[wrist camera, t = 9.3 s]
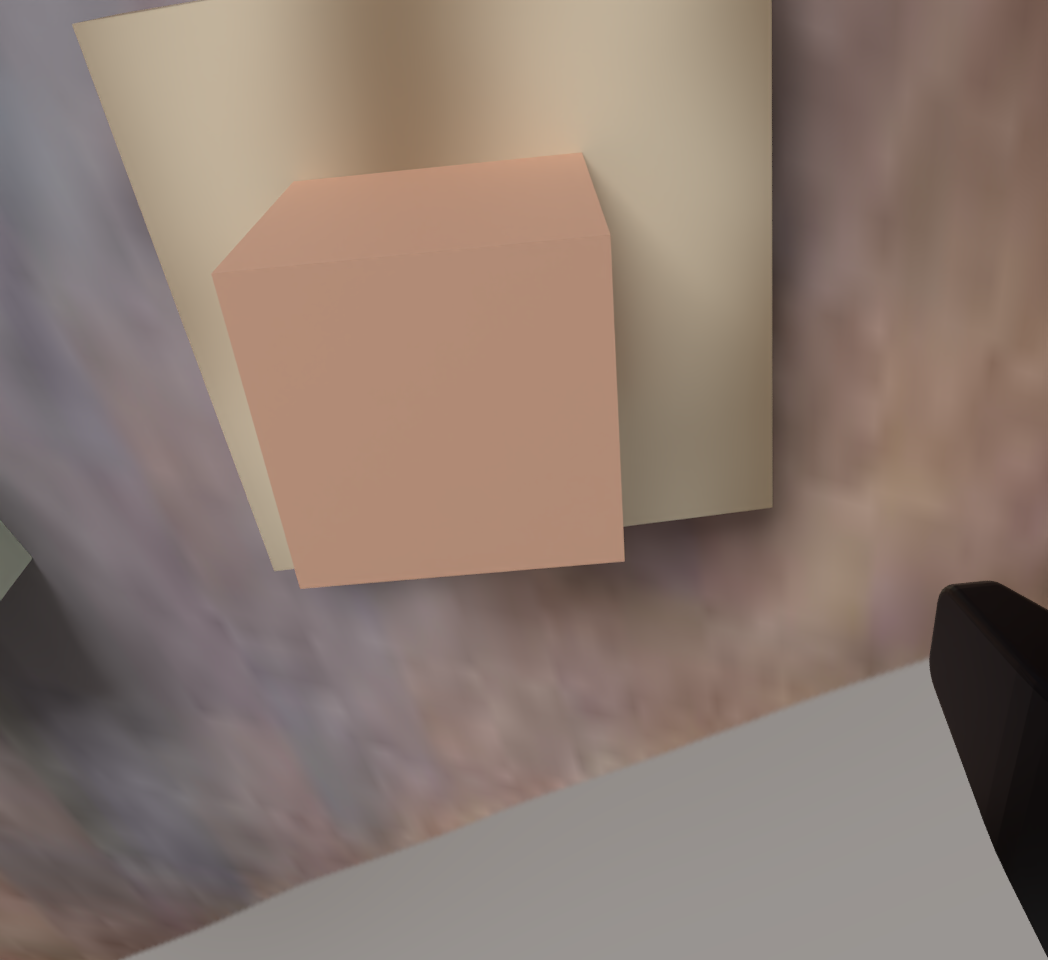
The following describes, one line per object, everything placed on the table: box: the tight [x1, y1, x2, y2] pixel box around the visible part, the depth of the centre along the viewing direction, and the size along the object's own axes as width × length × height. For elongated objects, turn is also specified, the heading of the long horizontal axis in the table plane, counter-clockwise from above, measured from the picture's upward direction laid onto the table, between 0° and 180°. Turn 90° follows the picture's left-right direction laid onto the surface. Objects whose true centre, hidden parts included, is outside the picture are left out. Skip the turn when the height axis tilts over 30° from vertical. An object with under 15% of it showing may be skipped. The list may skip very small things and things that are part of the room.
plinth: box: [72, 0, 773, 571], centre depth 18 cm, size 11×11×2 cm
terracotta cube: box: [211, 152, 625, 589], centre depth 15 cm, size 5×5×5 cm
